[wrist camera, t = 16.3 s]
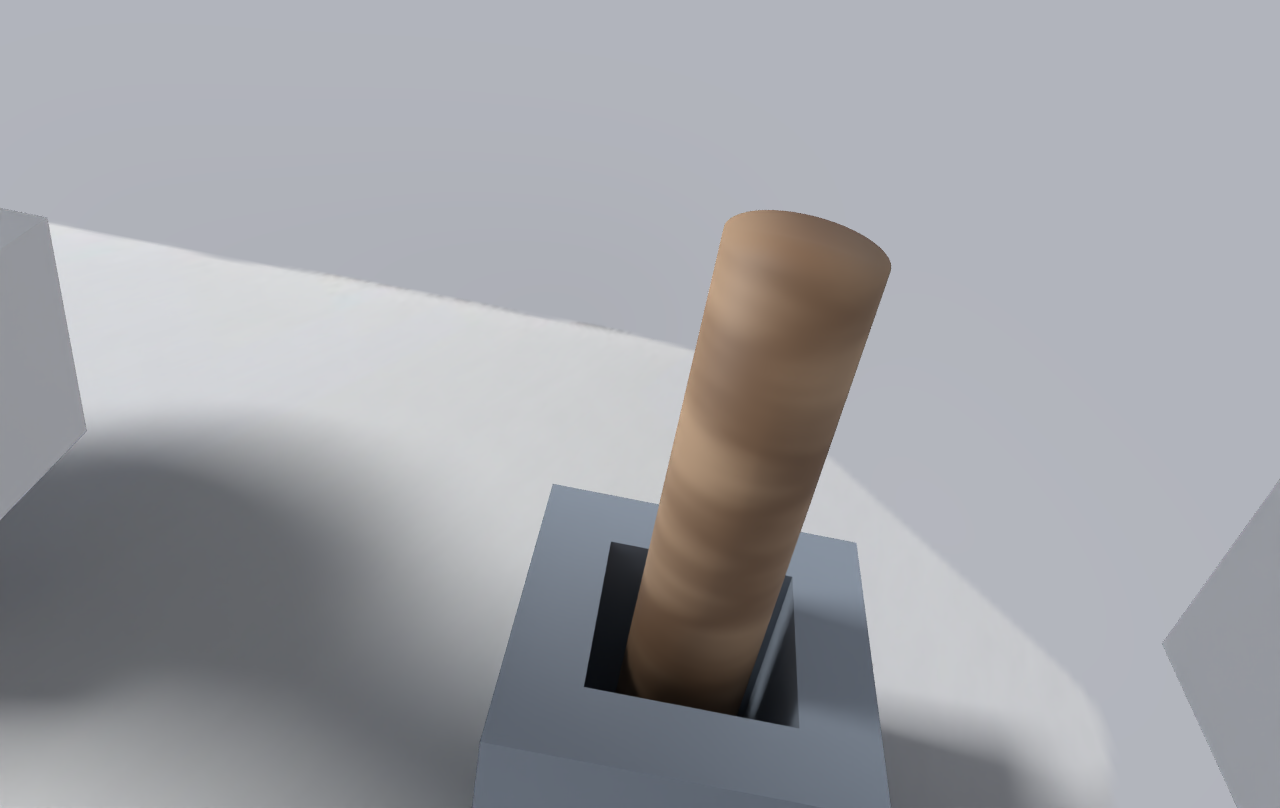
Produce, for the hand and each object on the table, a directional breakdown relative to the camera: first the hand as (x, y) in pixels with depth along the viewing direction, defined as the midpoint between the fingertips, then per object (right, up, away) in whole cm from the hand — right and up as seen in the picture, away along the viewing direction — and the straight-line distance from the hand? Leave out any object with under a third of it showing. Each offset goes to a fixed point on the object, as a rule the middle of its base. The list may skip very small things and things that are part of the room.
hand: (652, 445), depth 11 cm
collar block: (0, -14, +24) cm, 28 cm away
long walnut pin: (0, -14, +24) cm, 28 cm away
